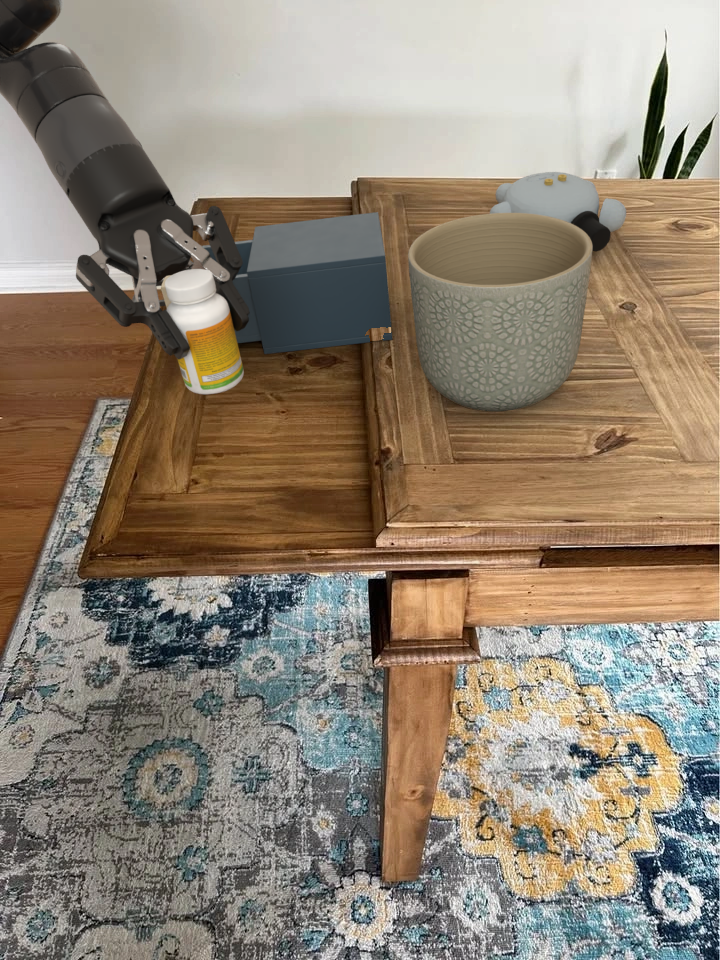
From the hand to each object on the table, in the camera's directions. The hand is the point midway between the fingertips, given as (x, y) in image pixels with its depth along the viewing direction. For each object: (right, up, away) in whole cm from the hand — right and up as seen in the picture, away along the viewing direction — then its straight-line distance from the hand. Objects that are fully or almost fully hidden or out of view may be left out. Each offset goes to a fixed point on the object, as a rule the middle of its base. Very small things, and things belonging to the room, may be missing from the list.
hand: (213, 339), depth 62 cm
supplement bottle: (-1, -3, +4) cm, 5 cm away
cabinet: (+8, +8, +32) cm, 34 cm away
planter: (+27, -2, +16) cm, 32 cm away
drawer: (-5, +8, +31) cm, 33 cm away
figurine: (+40, +23, +44) cm, 64 cm away
